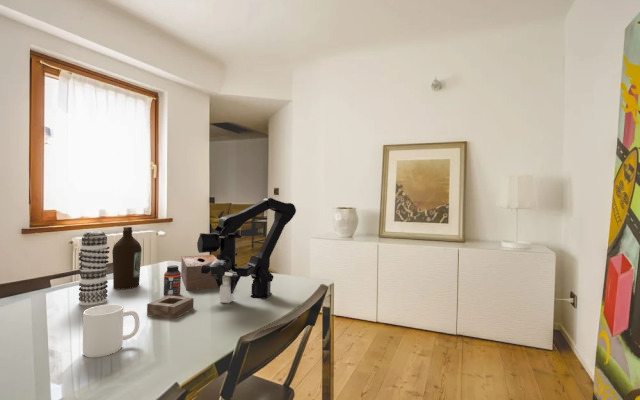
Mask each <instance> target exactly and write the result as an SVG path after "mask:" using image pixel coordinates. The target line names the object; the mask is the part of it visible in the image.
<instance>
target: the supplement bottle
mask: <svg viewBox="0 0 640 400" xmlns="http://www.w3.org/2000/svg"><path fill="white" fill-rule="evenodd" d="M181 279H182V278H181V271H180V270H179V265H173V264H172V265H168V266H166V271H165V272H164V274H163V297H166V296H168V295H170V296H179V295H181V281H182V280H181Z"/></svg>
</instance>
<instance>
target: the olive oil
mask: <svg viewBox="0 0 640 400" xmlns="http://www.w3.org/2000/svg"><path fill="white" fill-rule="evenodd" d="M122 229H123V230H122V237H121V238H120V239H118V241H116V242H115V243H114V245H113V247H112V272H113V273H112V280H113V284H112V285H113V286H112V287H113V289H116V290H129V289H134V288H136V287H138V286H139V285H140V278H141V277H140V276H141V265H142V264H141V262H142V253H143V251H142V245H141V243H140V242H139V241H138V240H137V239H136V238H135V237H133V227H132V226H124V227H123V228H122Z"/></svg>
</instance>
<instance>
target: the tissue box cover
mask: <svg viewBox="0 0 640 400" xmlns="http://www.w3.org/2000/svg"><path fill="white" fill-rule="evenodd" d="M215 260H217V256H215V255H214V254H204V255H202V254H201V255H186V256H185V255H184V256H183V255H182V256H181V265H180V266H181V269H180V270H181V271H180V272H181V277H182V278H181V279H182V280H181V281H182V282H183V286H184V288H185V290H186V291H194V290H195V291H196V290H202V289H203V290H206V289H214V288H215V289H216V288H219V287H218V284H217V282H216V280H215V278H214V277H212V276H210V274H211V271H210V272H209V273H208V274H205V273H201V267H202V266H203V265H205V264H208V263H213V262H214V261H215Z"/></svg>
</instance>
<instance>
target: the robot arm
mask: <svg viewBox="0 0 640 400" xmlns="http://www.w3.org/2000/svg"><path fill="white" fill-rule="evenodd" d="M267 210H270V211H273V212H274V215H273V216H274V217H273V218H274V219H273V223H272V225H271V227H270V228H269V231H268V233H267V235H266V237H265V238H264V241H263V243H262V246H261V248H260V249H259V251H258V252H257V254H256V255H254V254H252V255H251V256H250V258H249V261H248V262H247V265H242V266H239V267H238V263H237V262H236V256H238V252H237V251H236V249H237V248H236V245H237V244H236V243H237V242H236V240H237V239H241V238H242V235H241V234H239V233H238V230H239V229H241V227H242V226H243V225H244V224H245V223H247V222H248V221H250V220H251V219H253V218H255V217H257V216H259V215H260V214H262V213H264V212H266V211H267ZM296 212H297V208H296V206H295V205H294V203H291V202H283V201H280V200H276V199H275V198H273V197H264V198H263V199H262V200H260V201H259V202H256V203H255V204H253V205H251V206H248V207H247V208H245V209H243V210H241V211H239V212H235V213H230V214H227V215H225V216H221V217H220V218H219V220H218V222H217V226H216V227H215V228H214V229H213V231H212V232H210V233H205V232H203V233H201V232H200V233H199V237H198V240H197V242H196V243H197V244H196V246H197V247H196V248H197V251H198V254H203V253H204V254H205V253H215V252H217V251H218V250H219V251H218V252H219V253H218V254H217V256H216V258H217V260H215V261H214V262H213V263H208V264H205V265H203V266H202V267H201V273H205V274H208V273H209V272H210V271H211V274H210V276H212V277H214V278H215V280H216V282H217V284H218V287H217V288H218V289H219V291H220V286H221V285H222V284H223V276H224V275H226V273H229V274H230V273H232V275H231V276H230V279H231V294H232V293H233V292H234V293H235V289H236V287H237V285H238V282H239V281H240V279H241V277H242V278H244V277H245V278H247V277H249V276H250V277H251V279H253V280H252V283H251V295H250V298H260V299H267V298H269V297H270V296H271V295H273V293H272V292H271V283H272V282H273V279H274V275H273V274H272V273H271V272H270V271H269V269H270V264H271V263H270V261H271V256H272V255H273V252H274V250H275V247H276V245H277V243H278V241H279V239H280V237H281V234H282V233H283V231H284V229H285V227H286V225H287V224H288V223H289V222H291V220H292V219H293V218H294V216H295V215H296Z"/></svg>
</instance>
